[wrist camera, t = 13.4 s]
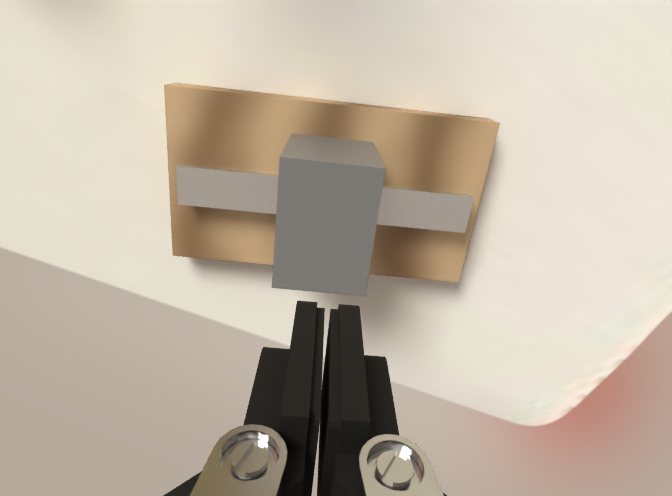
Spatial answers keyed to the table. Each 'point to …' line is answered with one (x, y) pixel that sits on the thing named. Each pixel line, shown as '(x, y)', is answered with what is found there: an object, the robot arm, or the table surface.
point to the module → (326, 214)
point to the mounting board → (327, 121)
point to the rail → (262, 190)
